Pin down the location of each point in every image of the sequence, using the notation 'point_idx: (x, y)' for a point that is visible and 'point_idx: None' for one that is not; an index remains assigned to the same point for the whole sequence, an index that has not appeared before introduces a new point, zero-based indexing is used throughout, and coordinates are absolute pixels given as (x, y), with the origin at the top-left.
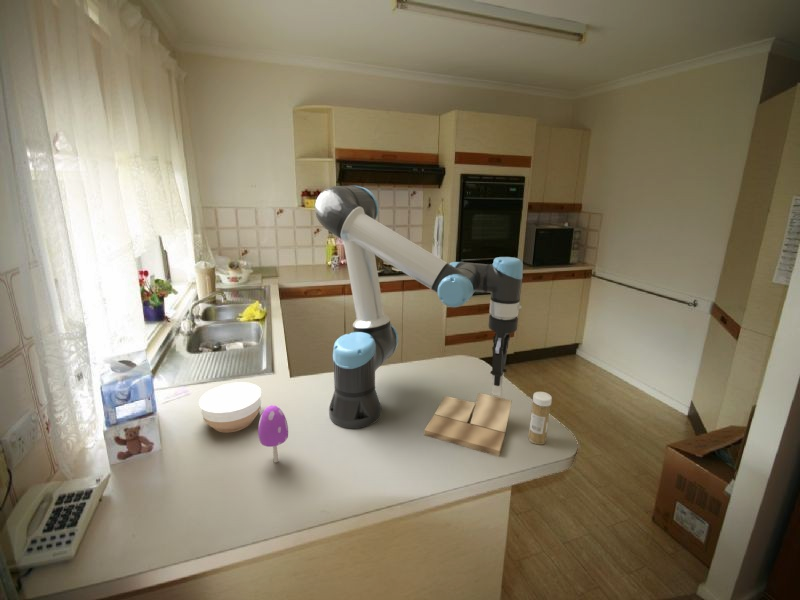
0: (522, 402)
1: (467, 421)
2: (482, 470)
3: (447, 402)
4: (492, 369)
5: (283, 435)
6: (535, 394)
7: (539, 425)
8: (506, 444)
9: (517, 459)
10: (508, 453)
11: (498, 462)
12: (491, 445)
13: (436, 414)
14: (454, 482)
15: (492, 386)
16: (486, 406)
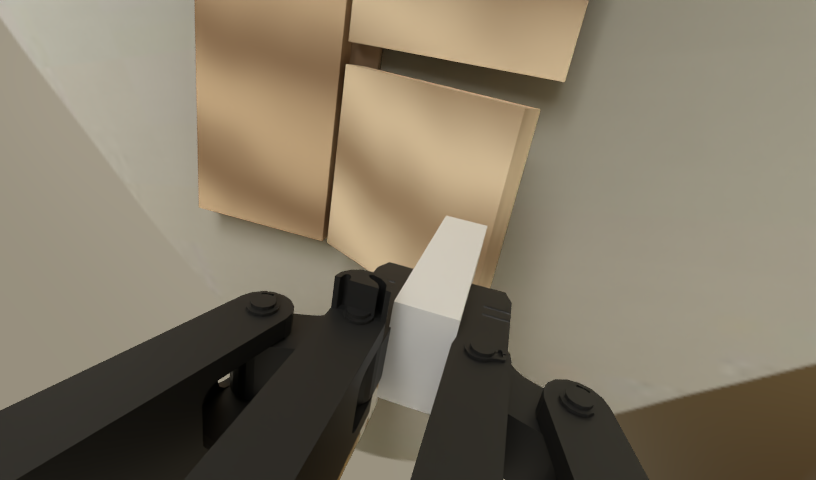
0: (688, 365)
1: (366, 44)
2: (122, 135)
3: None
4: (173, 332)
5: None
6: None
7: None
8: (296, 236)
9: (228, 265)
10: (246, 237)
11: (185, 196)
12: (216, 176)
13: None
14: (25, 31)
15: (430, 242)
16: (429, 165)
